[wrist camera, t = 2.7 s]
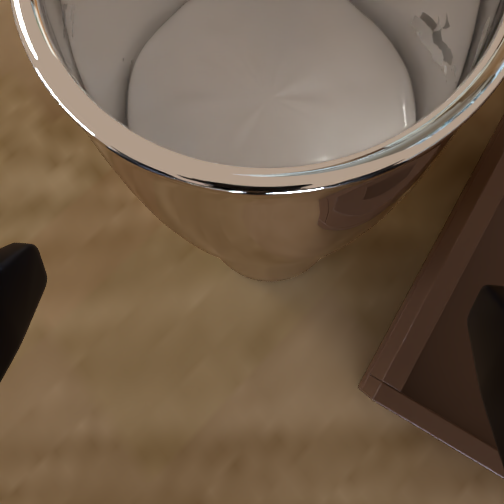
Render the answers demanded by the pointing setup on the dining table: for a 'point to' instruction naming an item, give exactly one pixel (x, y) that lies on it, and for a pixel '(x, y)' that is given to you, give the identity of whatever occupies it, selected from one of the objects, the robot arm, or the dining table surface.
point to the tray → (448, 322)
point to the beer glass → (267, 109)
